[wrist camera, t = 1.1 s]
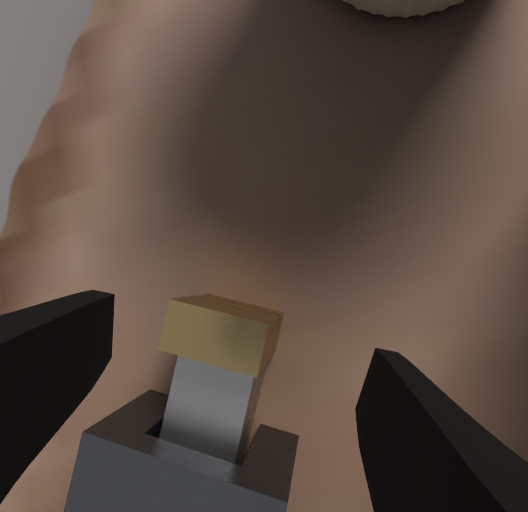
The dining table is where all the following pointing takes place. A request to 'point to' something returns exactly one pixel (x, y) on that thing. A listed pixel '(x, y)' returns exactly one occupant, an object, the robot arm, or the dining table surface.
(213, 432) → the lever
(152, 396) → the housing
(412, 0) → the canister
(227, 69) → the dining table surface
